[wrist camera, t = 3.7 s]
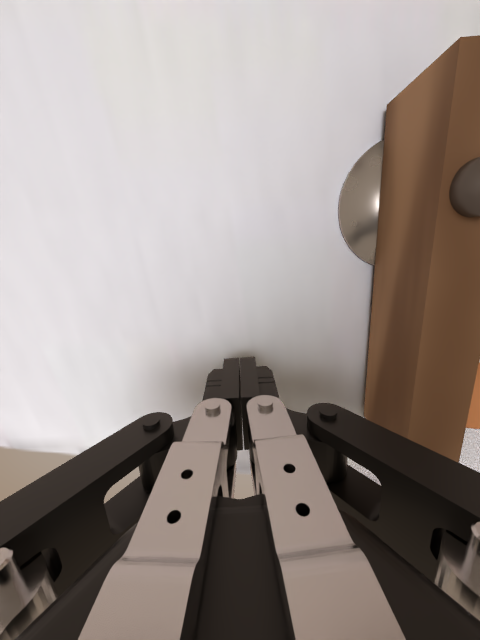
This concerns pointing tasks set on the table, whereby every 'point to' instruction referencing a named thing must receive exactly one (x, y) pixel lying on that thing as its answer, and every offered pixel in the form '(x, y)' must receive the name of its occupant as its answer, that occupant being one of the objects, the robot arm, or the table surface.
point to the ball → (475, 404)
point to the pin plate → (362, 204)
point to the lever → (429, 257)
